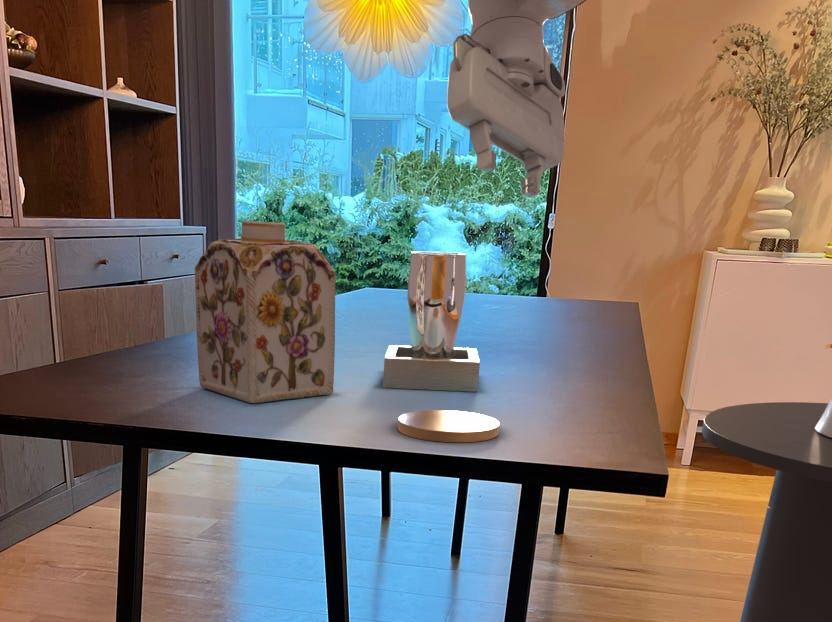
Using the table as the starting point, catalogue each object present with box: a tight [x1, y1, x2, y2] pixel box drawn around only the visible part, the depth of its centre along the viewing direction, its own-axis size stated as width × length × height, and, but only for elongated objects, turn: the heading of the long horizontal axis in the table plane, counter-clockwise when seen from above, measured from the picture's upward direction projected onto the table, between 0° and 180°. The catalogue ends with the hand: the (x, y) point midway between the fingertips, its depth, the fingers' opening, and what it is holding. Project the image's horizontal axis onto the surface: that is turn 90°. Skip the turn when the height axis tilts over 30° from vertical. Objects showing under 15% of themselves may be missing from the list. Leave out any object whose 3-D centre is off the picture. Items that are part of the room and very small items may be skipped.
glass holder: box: [382, 344, 481, 393], centre depth 113 cm, size 11×11×4 cm
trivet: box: [397, 409, 501, 443], centre depth 88 cm, size 10×10×1 cm
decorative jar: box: [194, 220, 337, 405], centre depth 100 cm, size 12×12×18 cm
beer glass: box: [407, 251, 467, 360], centre depth 110 cm, size 7×7×15 cm
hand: (509, 182), depth 108 cm, fingers open, 8 cm apart
